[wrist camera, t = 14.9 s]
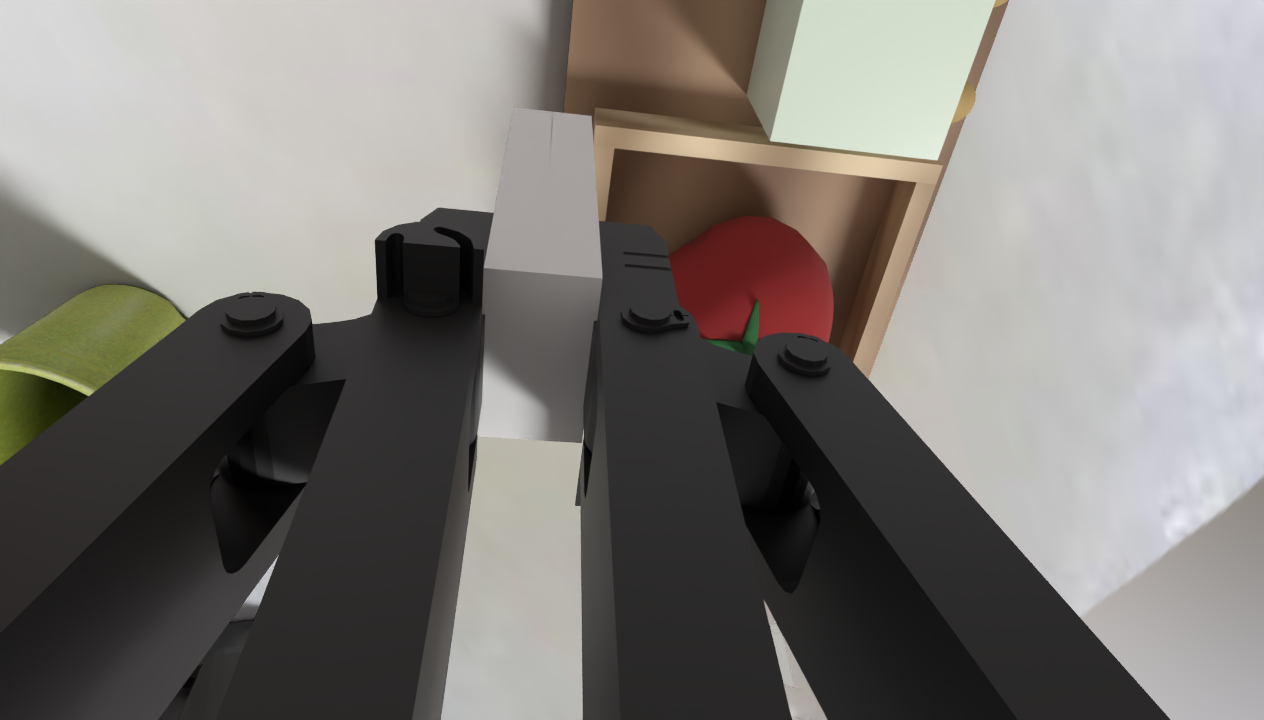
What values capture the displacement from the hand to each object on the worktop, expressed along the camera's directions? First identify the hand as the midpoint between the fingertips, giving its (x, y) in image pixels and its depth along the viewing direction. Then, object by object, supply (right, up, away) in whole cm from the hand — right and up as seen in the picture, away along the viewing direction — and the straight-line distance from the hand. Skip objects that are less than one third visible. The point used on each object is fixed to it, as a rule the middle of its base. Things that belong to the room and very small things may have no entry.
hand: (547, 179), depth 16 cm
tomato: (+6, 0, +20) cm, 21 cm away
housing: (+10, +9, +14) cm, 19 cm away
